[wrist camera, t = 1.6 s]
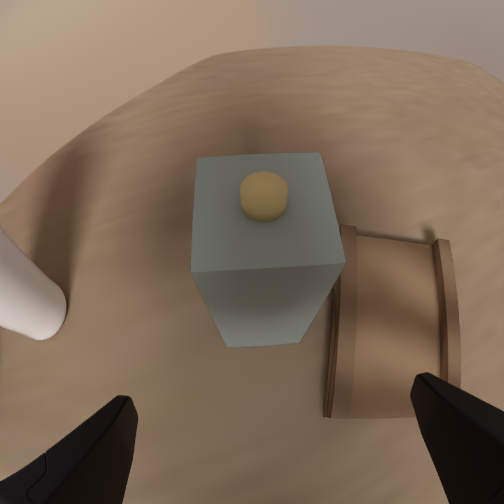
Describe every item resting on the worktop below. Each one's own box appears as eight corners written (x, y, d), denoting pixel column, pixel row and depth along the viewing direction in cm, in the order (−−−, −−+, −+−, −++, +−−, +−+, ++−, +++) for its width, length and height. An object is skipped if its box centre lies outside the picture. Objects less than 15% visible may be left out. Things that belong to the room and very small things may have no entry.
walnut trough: (446, 413, 18) (460, 412, 16) (323, 416, 19) (329, 417, 17) (439, 251, 25) (450, 240, 23) (334, 237, 25) (340, 224, 24)
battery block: (298, 343, 22) (352, 251, 9) (227, 347, 22) (185, 261, 9) (292, 278, 24) (322, 138, 12) (225, 281, 24) (193, 143, 12)
